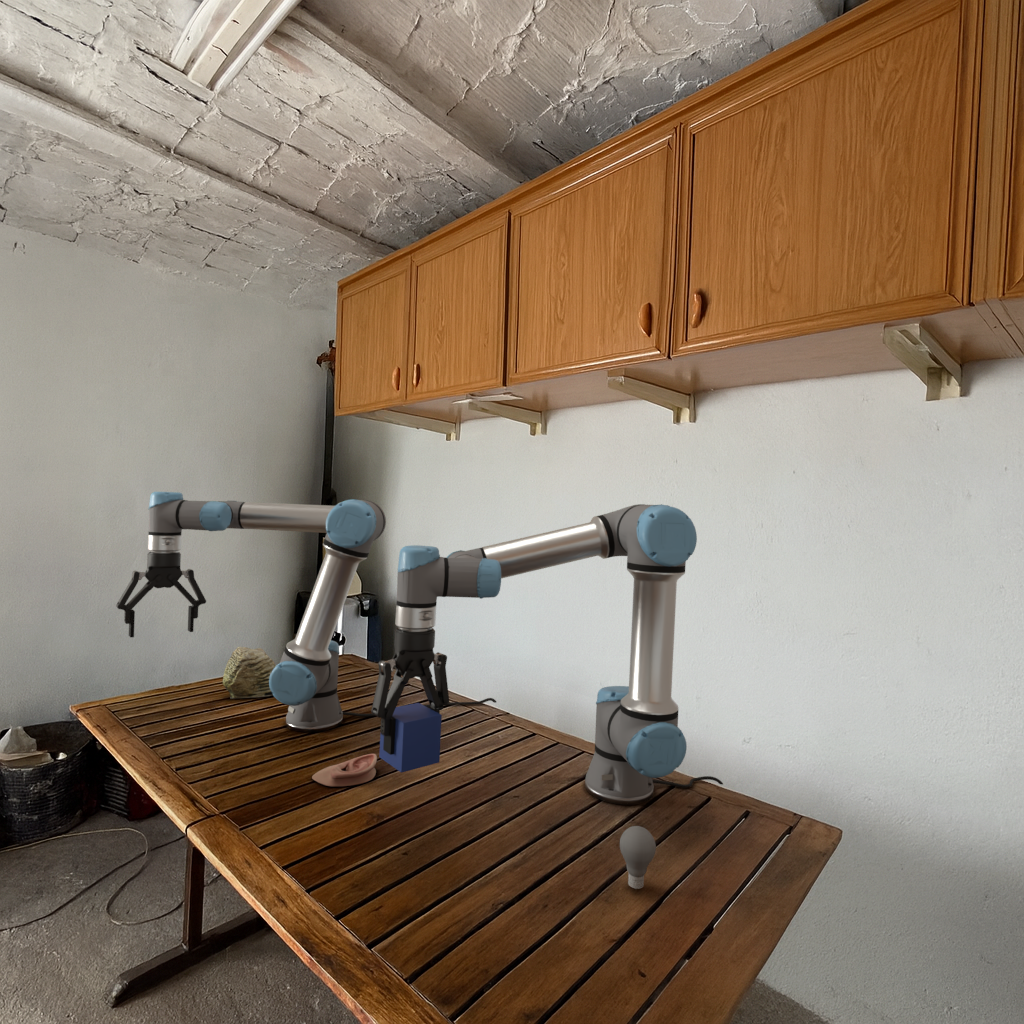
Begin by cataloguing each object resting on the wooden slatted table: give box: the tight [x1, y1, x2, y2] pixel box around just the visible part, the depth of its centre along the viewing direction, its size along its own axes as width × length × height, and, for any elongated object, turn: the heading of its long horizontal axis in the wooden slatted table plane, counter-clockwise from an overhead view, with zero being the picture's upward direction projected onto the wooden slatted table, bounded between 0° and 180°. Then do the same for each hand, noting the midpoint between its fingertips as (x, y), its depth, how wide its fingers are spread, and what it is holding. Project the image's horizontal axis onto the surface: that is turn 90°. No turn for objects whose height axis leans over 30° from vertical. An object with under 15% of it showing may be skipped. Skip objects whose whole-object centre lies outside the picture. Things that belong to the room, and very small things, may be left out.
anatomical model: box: [311, 753, 378, 788], centre depth 144 cm, size 13×4×12 cm
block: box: [378, 702, 443, 773], centre depth 120 cm, size 8×8×9 cm
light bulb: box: [619, 825, 657, 890], centre depth 107 cm, size 6×6×10 cm
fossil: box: [222, 646, 277, 699], centre depth 198 cm, size 9×18×15 cm, turn 132°
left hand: (161, 633), depth 163 cm, fingers open, 13 cm apart
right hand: (409, 746), depth 120 cm, fingers closed on block, 8 cm apart
